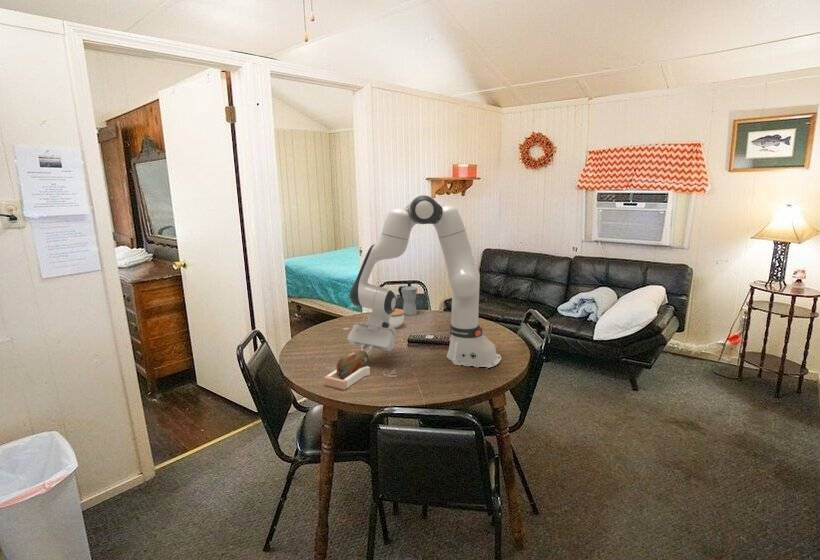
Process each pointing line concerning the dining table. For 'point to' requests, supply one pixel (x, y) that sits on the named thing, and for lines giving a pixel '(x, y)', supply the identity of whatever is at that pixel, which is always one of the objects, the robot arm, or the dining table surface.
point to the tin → (352, 363)
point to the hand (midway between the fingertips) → (364, 356)
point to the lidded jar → (397, 318)
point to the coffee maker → (408, 299)
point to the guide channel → (338, 383)
